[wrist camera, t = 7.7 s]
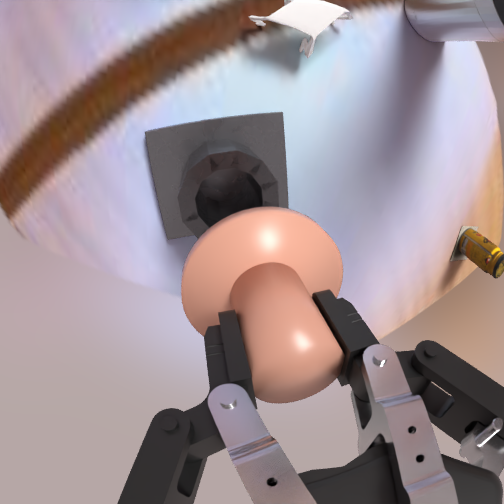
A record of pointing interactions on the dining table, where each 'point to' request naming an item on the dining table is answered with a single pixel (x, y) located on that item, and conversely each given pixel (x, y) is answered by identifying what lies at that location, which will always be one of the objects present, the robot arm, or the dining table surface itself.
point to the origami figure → (306, 18)
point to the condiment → (479, 251)
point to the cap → (269, 296)
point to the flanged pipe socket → (217, 169)
